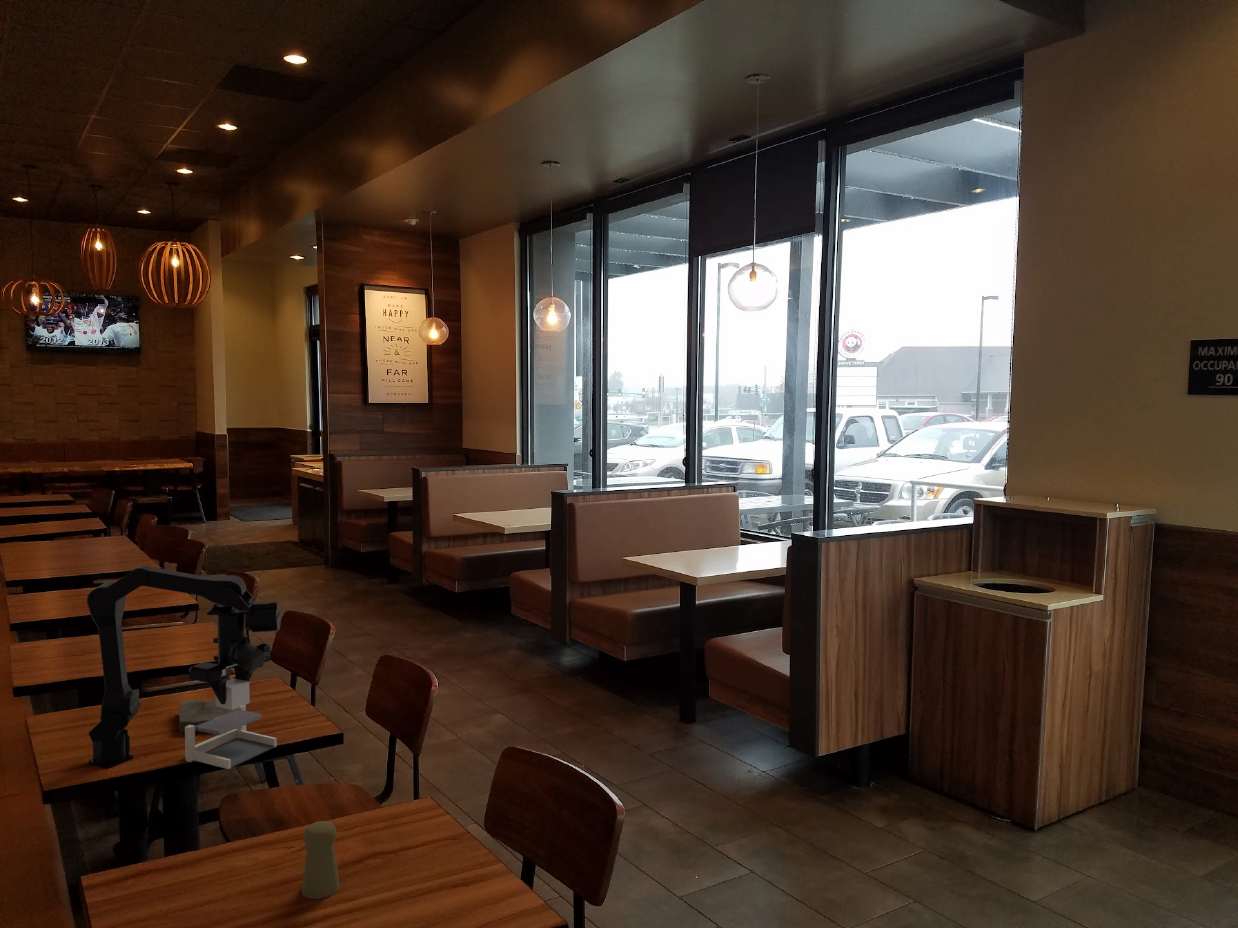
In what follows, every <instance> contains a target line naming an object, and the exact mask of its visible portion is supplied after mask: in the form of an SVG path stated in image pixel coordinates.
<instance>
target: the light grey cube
mask: <svg viewBox="0 0 1238 928" xmlns="http://www.w3.org/2000/svg"><path fill="white" fill-rule="evenodd" d="M250 699H251V698H250V681H244V680H239V679H236V678H235V677H234V678H229V679H228V681H227V682H226V702H225V704H221V703H220V702H219V700H218V698H217V696H216V695H215V700H216V707H221V708H226V709H230V710H233V709H236V708H238V707H241V706H243V705H246V706H247V704H250V703H251V702H250Z"/></svg>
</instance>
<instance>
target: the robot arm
mask: <svg viewBox="0 0 1238 928" xmlns="http://www.w3.org/2000/svg"><path fill="white" fill-rule="evenodd" d="M140 587H148V588H154V589H160V590H166V591H171V592H178V593H184V594H190V595H196V596H199V597H202V598H203V599H205V600H208V601H209V602H212V603H213V606H212V607H211V608H210V609H208V611H207V612H206V615H207V616H216V631H217V632H216V633H217V634H216V635H217V636H216V637H213V640H212V641H213V643H214V644H217V654H215V655H213V661H215V662H217V663H211V662H207V661H206V662H205V661H204V662H200V663H198V664H194V665H191V667H190V668H189V670H188V679H189V680H192V681H198V682H203V683H207V684H208V685H209V686H210V688H211V689H212V691H213V693H214V694H215V697H216V696H217V698H218V700H219V702H220V703H221V704H225V702H226V682H227V681H228V680H230V679H231V676H230V675H226V673H227V672H226V670H229V669H231V668H233V670H234V678H235V679H239V680H244V681H249V682H250V681H251V677H252V675H253V673H254V672H255V671H256V670H258V669H259V668H261V669H262V668H263V667H264V664H265V663H266V662H270V661H272V660H273V658H272V657H273V654H272V653H273V652H272V650H271V645H270V644H269V643H267V642H266V641H265V642H262V643H260V644H255V645H253V644H251V637H250V636H249V635H246V633H245V632H246V628H247V629H248V630H249V631H251V632H252V633H264V632H270V633H271V632H279V631H280V628H281V621H282V618H281V617H282V614H281V612H280V606H279V600H271V601H263V602H261V601H259V602H258V601H257V600H256V599H255V597H254V596H253V595H252V594H251V593H250V592H249V591H248V589H247V584H246V582H245V580H244V579H243V578H242V577H240V576H238V575H232V574H231V575H226V574H225V575H224V574H223V575H222V574H221V575H220V574H219V575H198V574H192V573H188V572H187V573H186V572H181V571H176V570H170V569H164V568H159V567H152V566H149V565H147V564H142V565H140V566H139V565H138V566H137V567H135V568H134V569H133V570H131V572H130V573H127V574H126V575H125V576H123V577H122V578H120V579H118V580H117V581H112V580H111V581H106V582H104V583H102V584H100V585H99V586H97V587H96V588H94V589H92V591H90V592H89V594H88V595H87V597H86V603H87V604H86V605H87V607H88V611H89V613H90V617H91V618H92V620H93V622H94V624H95V625H96V627H97V629H98V630H97V631H98V637H99V638H98V639H99V648H100V655H101V665H102V674H103V681H104V682H103V683H104V694H103V697H102V702H101V709H100V718H99V719H100V720H99V721H98V723H97V724H95V726H94V727H93V728H91V730H90V731H89V732H88V736H89V738H90V740H91V742H92V743H91V744H92V758H91V759H88V761H87V763H88V764H90V765H94V766H98V767H100V768H101V767H102V768H106V769H108V768H111V767H114V766H116V765H119V764H121V763H124V762H126V761H129V760H131V759H134V755H133V754H130V752H131V743H130V742H131V740H130V739H131V738H130V735H129V730H128V729H126V727H127V726H129V724H130V722H131V721H133V719H134V718H135V717H136V716H137V714H138V712H139V708H141V706H142V704H141V702H140V697H139V696H140V690H139V689H140V688H137V689H132V688H131V686H130V684H129V681H128V674H127V673H128V671H127V664H126V654H125V645H124V636H123V627H122V620H123V616H124V612H125V608H126V597H127V595H128V594H131V593H132V592H133V591H136V590H137V589H139V588H140ZM256 601H257V602H256ZM245 615H246V616H245ZM245 618H246V619H245Z"/></svg>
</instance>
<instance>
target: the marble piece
mask: <svg viewBox="0 0 1238 928" xmlns="http://www.w3.org/2000/svg"><path fill="white" fill-rule="evenodd" d="M178 708H179V710H178V715H177V716H178V717H177V718H179V719H178V720H179V723H178V725H179V731H180V733H181V734H183V733H185V727H186V726H188V725H194V726H196V725H199V724H201V723H203V722H206V721H208V720H211V719H213V718H216V717H218V716H221V715H223V714H226V713H228V712H231V711H233V710H236V709H237V708H236V709H233V710H230V709H226V708H221V707H216V699H214V700H213V699H212V700H211V699H210V700H201V699H186V700H182V701H181V703H180V704H179V707H178ZM197 732H201V731H198V730H195V733H197Z"/></svg>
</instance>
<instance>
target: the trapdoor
mask: <svg viewBox="0 0 1238 928" xmlns="http://www.w3.org/2000/svg"><path fill="white" fill-rule="evenodd" d="M262 718H263V714H262V713H257V712H253V711H248V710H246V711H245V710H240V709H236V710H233V711H231V712H228V713H226V714H223V715H221V716H218V717H216V718H213V719H211V720H208V721H206V722H203V723H201V724H199V725H196V726H195V730H198V731H200V732H202V733H207V734H212V735H215V736H218V735H219V736H220V735H222V734H225V733H227V732H229V731H232V730H234V729H237V728H239V727H241V726H243V725H246V726H247V724H250V723H253V722H255V721H257V720H259V719H262Z"/></svg>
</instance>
